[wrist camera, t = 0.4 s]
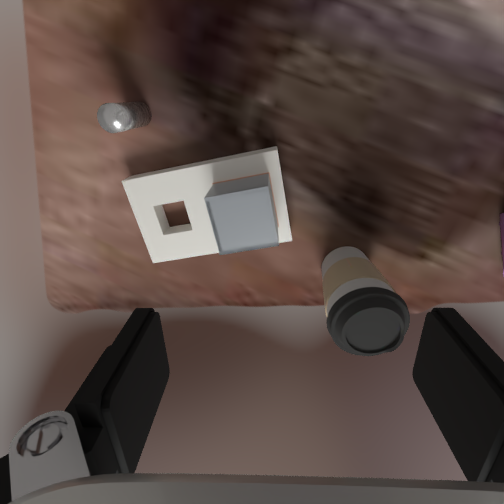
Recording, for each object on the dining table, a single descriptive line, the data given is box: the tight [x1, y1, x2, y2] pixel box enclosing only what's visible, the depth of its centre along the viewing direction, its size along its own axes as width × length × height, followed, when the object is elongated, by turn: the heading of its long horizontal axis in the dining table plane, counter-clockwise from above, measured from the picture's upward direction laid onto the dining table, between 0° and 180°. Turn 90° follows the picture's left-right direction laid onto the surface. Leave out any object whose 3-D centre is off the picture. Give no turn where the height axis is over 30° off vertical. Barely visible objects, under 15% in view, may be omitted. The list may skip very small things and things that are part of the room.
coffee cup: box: [322, 246, 410, 356], centre depth 40 cm, size 9×9×15 cm
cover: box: [204, 173, 279, 255], centre depth 38 cm, size 7×7×6 cm
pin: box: [97, 102, 152, 133], centre depth 36 cm, size 3×3×8 cm
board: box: [122, 146, 292, 263], centre depth 42 cm, size 12×20×3 cm, turn 102°
